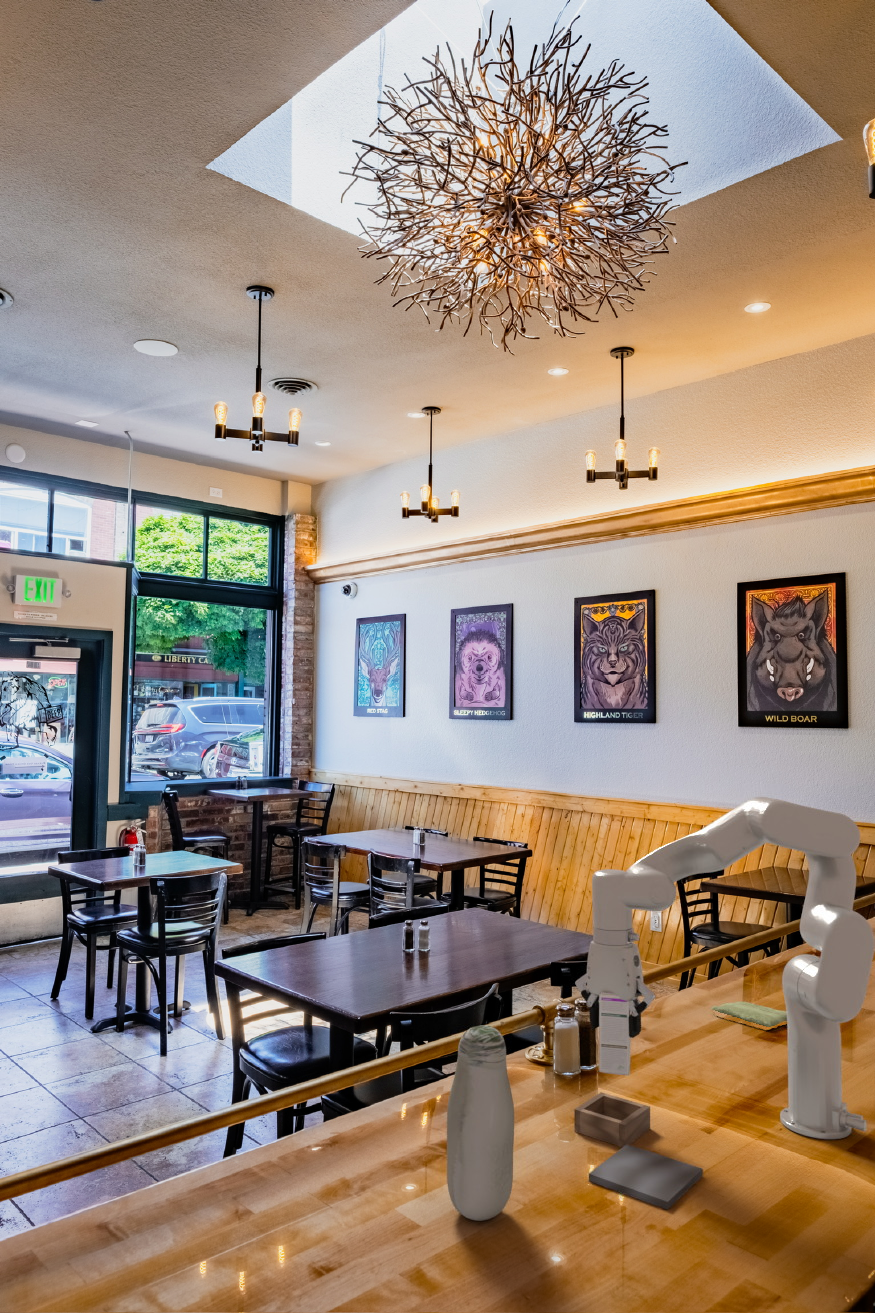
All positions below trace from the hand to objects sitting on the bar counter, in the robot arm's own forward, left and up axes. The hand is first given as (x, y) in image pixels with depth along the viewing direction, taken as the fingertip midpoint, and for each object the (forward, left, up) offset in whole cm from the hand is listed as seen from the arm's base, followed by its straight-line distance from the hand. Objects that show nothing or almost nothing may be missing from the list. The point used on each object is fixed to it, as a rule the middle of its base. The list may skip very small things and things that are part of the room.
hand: (615, 1030), depth 171 cm
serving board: (-13, +13, -18) cm, 26 cm away
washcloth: (+3, -83, -19) cm, 85 cm away
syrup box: (0, 0, -7) cm, 7 cm away
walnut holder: (0, 0, -18) cm, 18 cm away
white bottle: (+2, +40, -18) cm, 44 cm away
